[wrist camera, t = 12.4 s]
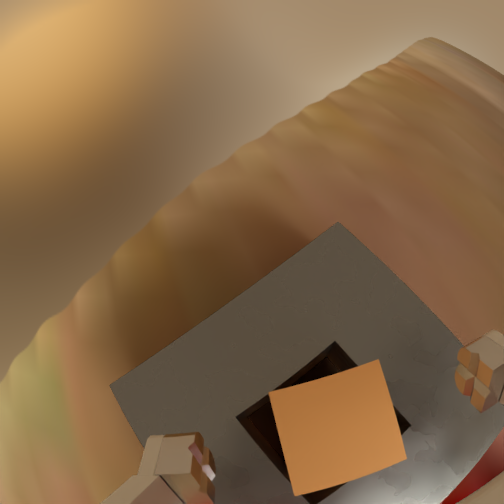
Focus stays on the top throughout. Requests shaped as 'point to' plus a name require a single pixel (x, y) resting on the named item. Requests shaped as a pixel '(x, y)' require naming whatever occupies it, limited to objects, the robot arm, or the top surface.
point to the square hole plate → (304, 359)
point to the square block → (337, 428)
